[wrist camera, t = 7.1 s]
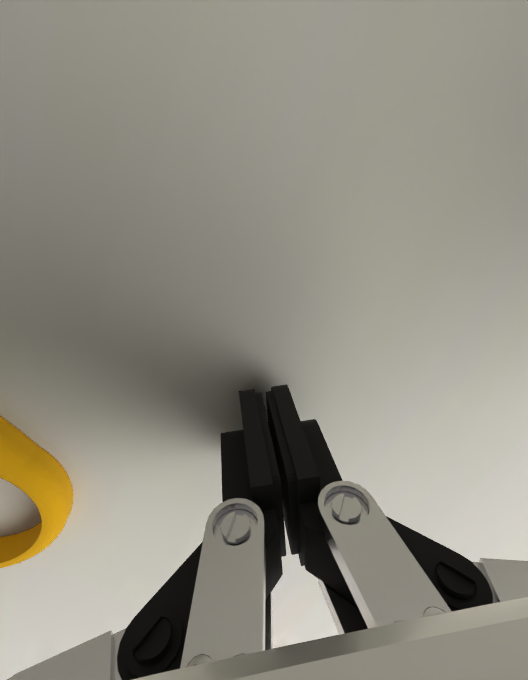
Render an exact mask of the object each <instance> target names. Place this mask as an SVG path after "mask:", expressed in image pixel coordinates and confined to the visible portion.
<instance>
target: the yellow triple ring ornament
mask: <svg viewBox="0 0 528 680" xmlns="http://www.w3.org/2000/svg"><path fill="white" fill-rule="evenodd" d="M0 478H2V479H5V480H6V481H8V482H10V483H12V484H14V485H15V486H17V487H18V488H20V489H21V490H22V491H24V492H25V493H26V494H27V495H28V496H29V497H30V498H31V499H32V500H33V502H34V503H35V505H36V506H37V508H38V510H39V512H40V515H41V519H42V522H41V523H39V524H38V525H36V526H35V527H33V528H31V529H29V530H26V531H24V532H21V533H18V534H14V535H10V536H4V537H0V568H3V567H7V566H11V565H14V564H17V563H20V562H22V561H24V560H27V559H29V558H31V557H33V556H35V555H36V554H38V553H39V552H41V551H42V550H44V549H45V548H46V547H47V546H49V545H50V544H51V543H52V542H53V541H54V540H55V539H56V538H57V536H58V535H59V533H60V532H61V531H62V529H63V528H64V525H65V523H66V521H67V518H68V516H69V513H70V511H71V508H72V503H73V489H72V485H71V482H70V479H69V477H68V475H67V473H66V471H65V470H64V468H63V467H62V465H61V464H60V463H59V462H58V461H57V460H56V459H55V458H54V457H53V456H52V455H50V454H49V453H48V452H47V451H45V450H44V449H42V448H41V447H39V446H38V445H37V444H36V443H34V442H33V441H32V440H31V439H30V438H28V437H27V436H26V435H25V434H24V433H22V432H21V431H20V430H18V429H17V428H16V427H14V426H13V425H12V424H10V423H9V422H8V421H6V420H5V419H4V418H2V417H1V416H0Z"/></svg>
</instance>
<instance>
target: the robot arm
mask: <svg viewBox="0 0 528 680" xmlns="http://www.w3.org/2000/svg"><path fill="white" fill-rule="evenodd" d="M239 396H240V404H241V413H242V421H243V429H244V430H238V431H232V432H225V433H221V463H222V498H223V502H222V503H220V504H219V505H218V506H217V507H216V508H214V510H213V511H212V512H211V514H210V515H209V517H208V520H207V523H206V527H205V533H204V538H203V542H202V543H201V544H200V545H199V546H198V548H197V549H196V550H195V551H194V552H193V553H192V554H191V555H190V556H189V557H188V559H187V560H186V561H185V562H184V563H183V564H182V565H181V566H180V567H179V569H178V570H177V571H176V572H175V573H174V574H173V575H172V576H171V577H170V579H169V580H168V581H167V582H166V583H165V584H164V585H163V586H162V587H161V589H160V590H159V591H158V592H157V593H156V594H155V595H154V596H153V597H152V598H151V600H150V601H149V602H148V603H147V604H146V605H145V606H144V607H143V608H142V610H141V611H140V612H139V613H138V614H137V615H136V616H135V617H134V619H133V620H132V621H131V623H130V624H129V625H128V627H127V628H126V629H124V630H121V631H119V632H117V633H115V634H113V633H112V631H109V632H106V633H104V634H102V635H100V636H98V637H95V638H93V639H91V640H89V641H87V642H84V643H82V644H80V645H78V646H76V647H73V648H71V649H69V650H67V651H65V652H62V653H60V654H58V655H56V656H54V657H52V658H49V659H47V660H45V661H43V662H41V663H38V664H36V665H34V666H32V667H30V668H27V669H25V670H23V671H21V672H19V673H17V674H15V675H14V676H12V677H10V678H9V679H7V680H528V561H518V560H502V559H486V558H480V561H479V562H471V561H470V560H468V559H466V558H465V557H463V556H462V555H460V554H458V553H456V552H454V551H453V550H451V549H449V548H447V547H445V546H443V545H441V544H439V543H437V542H435V541H433V540H431V539H429V538H427V537H425V536H423V535H421V534H420V533H418V532H416V531H414V530H412V529H410V528H408V527H406V526H404V525H402V524H400V523H398V522H396V521H394V520H392V519H390V518H388V517H387V516H385V514H384V513H383V511H382V510H381V509H380V507H379V506H378V504H377V503H376V501H375V500H374V498H373V497H372V496H371V495H370V493H369V492H368V491H367V490H366V489H364V488H363V487H361V486H360V485H358V484H355V483H353V482H349V481H342V478H341V476H340V474H339V472H338V469H337V467H336V465H335V462H334V460H333V458H332V455H331V453H330V451H329V448H328V446H327V444H326V441H325V439H324V437H323V434H322V432H321V430H320V427H319V425H318V423H317V421H316V420H315V419H313V420H306V421H300V419H299V416H298V413H297V411H296V408H295V405H294V402H293V400H292V397H291V394H290V391H289V388H288V386H287V385H281V386H274V387H271V391H268V392H266V402H267V415H268V421H267V416H266V412H265V407H264V403H263V398H262V394H261V393H255V390H254V389H252V390H244V391H239ZM284 521H285V526H286V531H287V535H288V540H289V545H290V550H291V554H292V555H293V554H299V559H300V563H301V566H304V565H305V568H306V570H307V571H308V572H310V573H311V574H313V575H314V576H316V577H317V578H318V581H319V585H320V588H321V591H322V593H323V595H324V598H325V600H326V603H327V605H328V608H329V610H330V613H331V615H332V618H333V620H334V623H335V625H336V627H337V630H338V632H339V635H336V636H331V637H326V638H322V639H317V640H312V641H307V642H303V643H298V644H293V645H288V646H284V647H279V648H274V649H273V642H272V590H273V588H274V587H275V585H276V584H277V582H278V580H279V579H280V577H281V576H282V574H283V573H282V560H281V557H282V556H286V546H285V531H284Z"/></svg>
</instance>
